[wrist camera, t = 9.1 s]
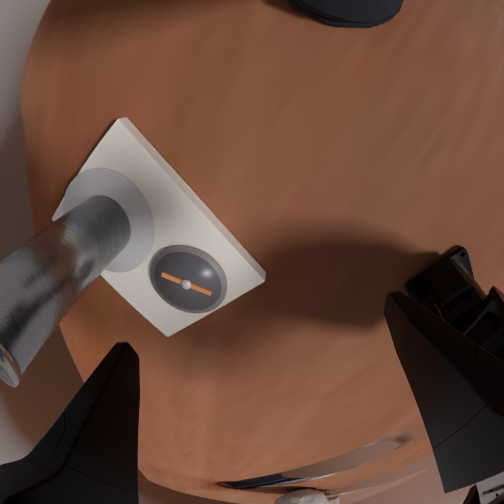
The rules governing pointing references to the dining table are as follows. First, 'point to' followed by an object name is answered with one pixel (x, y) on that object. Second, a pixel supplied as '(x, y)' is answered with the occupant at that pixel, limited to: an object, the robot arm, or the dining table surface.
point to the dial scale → (162, 234)
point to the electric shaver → (349, 11)
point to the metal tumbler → (54, 277)
